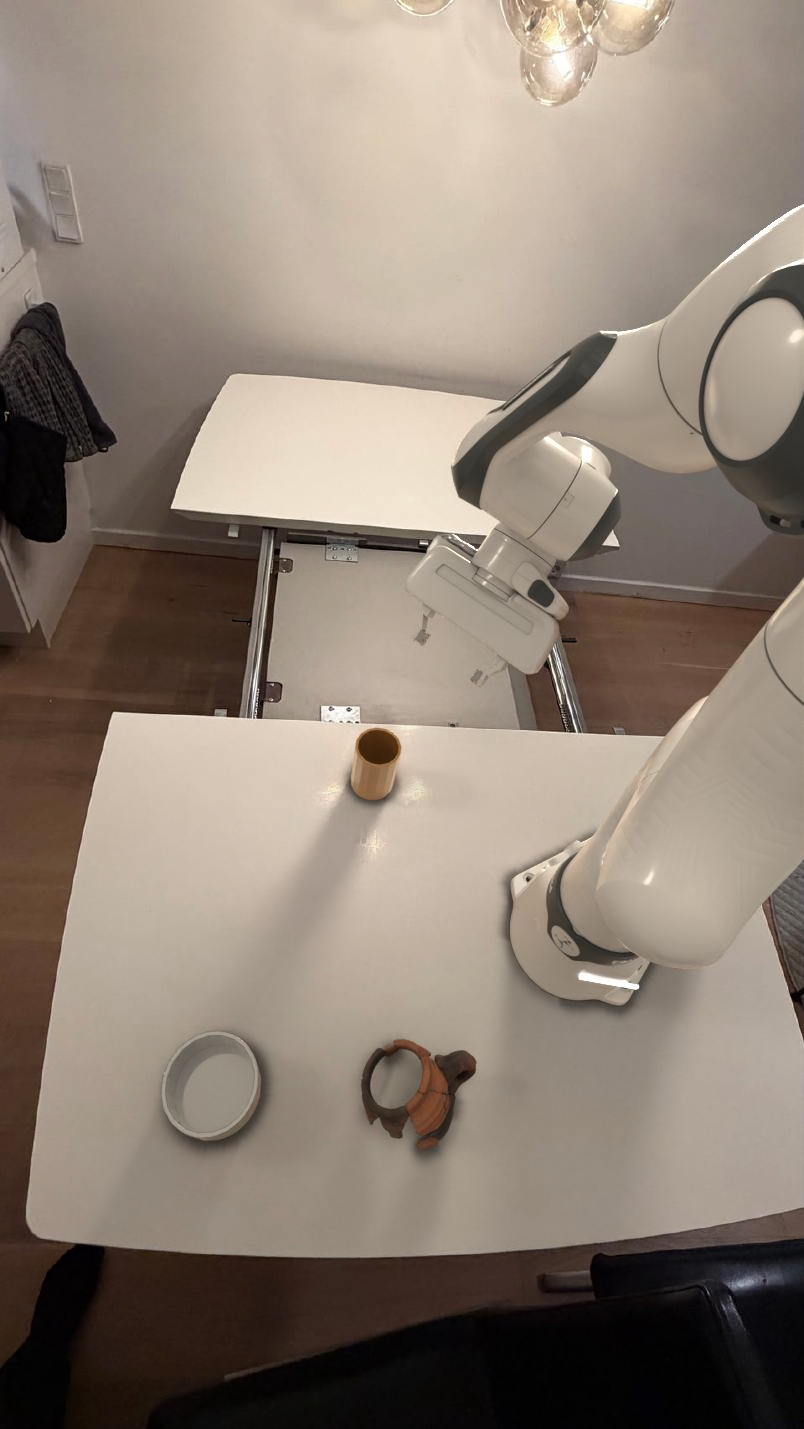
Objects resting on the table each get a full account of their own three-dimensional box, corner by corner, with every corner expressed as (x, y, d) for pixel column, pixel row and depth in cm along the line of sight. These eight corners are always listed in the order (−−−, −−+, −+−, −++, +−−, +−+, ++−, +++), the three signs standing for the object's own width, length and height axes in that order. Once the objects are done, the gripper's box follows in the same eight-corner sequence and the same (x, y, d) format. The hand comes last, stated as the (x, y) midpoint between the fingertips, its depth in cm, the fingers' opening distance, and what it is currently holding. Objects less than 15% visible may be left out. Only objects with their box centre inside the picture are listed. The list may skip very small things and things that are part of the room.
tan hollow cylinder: (375, 756, 93) (382, 720, 85) (401, 786, 91) (410, 751, 83) (342, 777, 90) (346, 741, 83) (368, 808, 88) (374, 774, 81)
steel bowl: (232, 1023, 72) (226, 1011, 66) (277, 1097, 68) (276, 1090, 63) (155, 1081, 68) (143, 1073, 62) (200, 1162, 64) (191, 1161, 59)
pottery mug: (402, 1178, 66) (374, 1148, 61) (367, 1092, 74) (339, 1059, 69) (503, 1107, 68) (483, 1072, 63) (458, 1030, 76) (438, 994, 71)
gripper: (434, 520, 81) (374, 615, 85) (574, 610, 76) (504, 709, 79) (449, 532, 87) (392, 621, 90) (580, 616, 82) (514, 708, 85)
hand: (445, 663), depth 85 cm, fingers open, 8 cm apart
